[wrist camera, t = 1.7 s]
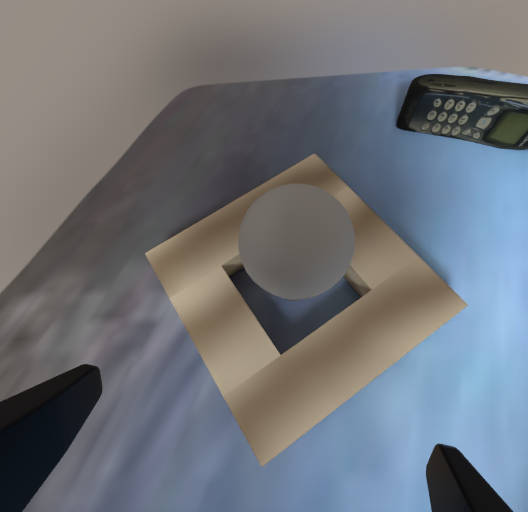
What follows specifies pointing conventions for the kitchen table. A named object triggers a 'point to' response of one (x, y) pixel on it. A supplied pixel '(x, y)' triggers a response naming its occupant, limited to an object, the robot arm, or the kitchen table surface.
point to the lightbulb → (296, 241)
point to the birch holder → (318, 342)
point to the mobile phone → (468, 110)
